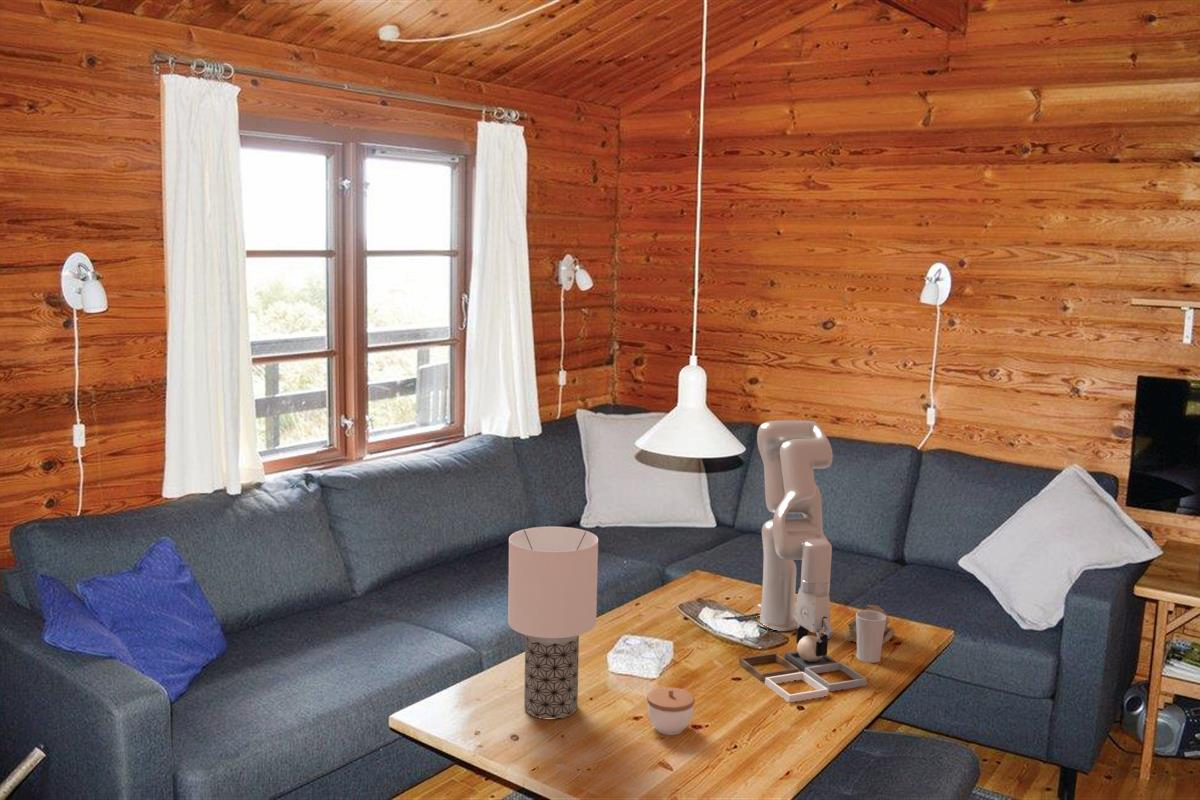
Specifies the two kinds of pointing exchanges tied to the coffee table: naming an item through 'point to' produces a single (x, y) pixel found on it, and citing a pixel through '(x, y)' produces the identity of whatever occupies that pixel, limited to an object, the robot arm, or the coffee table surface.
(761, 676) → the walnut frame
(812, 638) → the beige ball
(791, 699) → the white frame
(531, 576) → the lamp
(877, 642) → the cup
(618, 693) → the coffee table surface
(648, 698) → the lidded jar
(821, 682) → the grey frame
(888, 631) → the ceramic model
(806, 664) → the dark grey tray
